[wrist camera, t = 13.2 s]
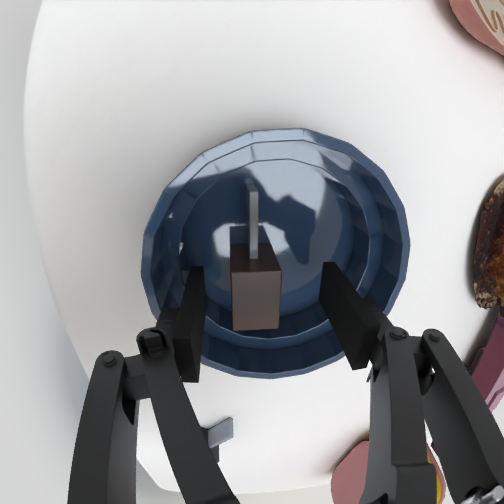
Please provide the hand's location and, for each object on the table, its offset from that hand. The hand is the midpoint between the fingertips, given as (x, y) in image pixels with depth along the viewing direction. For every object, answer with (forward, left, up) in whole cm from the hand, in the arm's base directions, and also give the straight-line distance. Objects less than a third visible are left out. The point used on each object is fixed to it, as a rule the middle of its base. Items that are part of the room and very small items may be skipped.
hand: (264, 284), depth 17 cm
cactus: (+28, +7, -3) cm, 29 cm away
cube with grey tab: (0, -23, -3) cm, 23 cm away
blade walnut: (-1, +2, -3) cm, 3 cm away
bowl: (+1, +2, -3) cm, 4 cm away
